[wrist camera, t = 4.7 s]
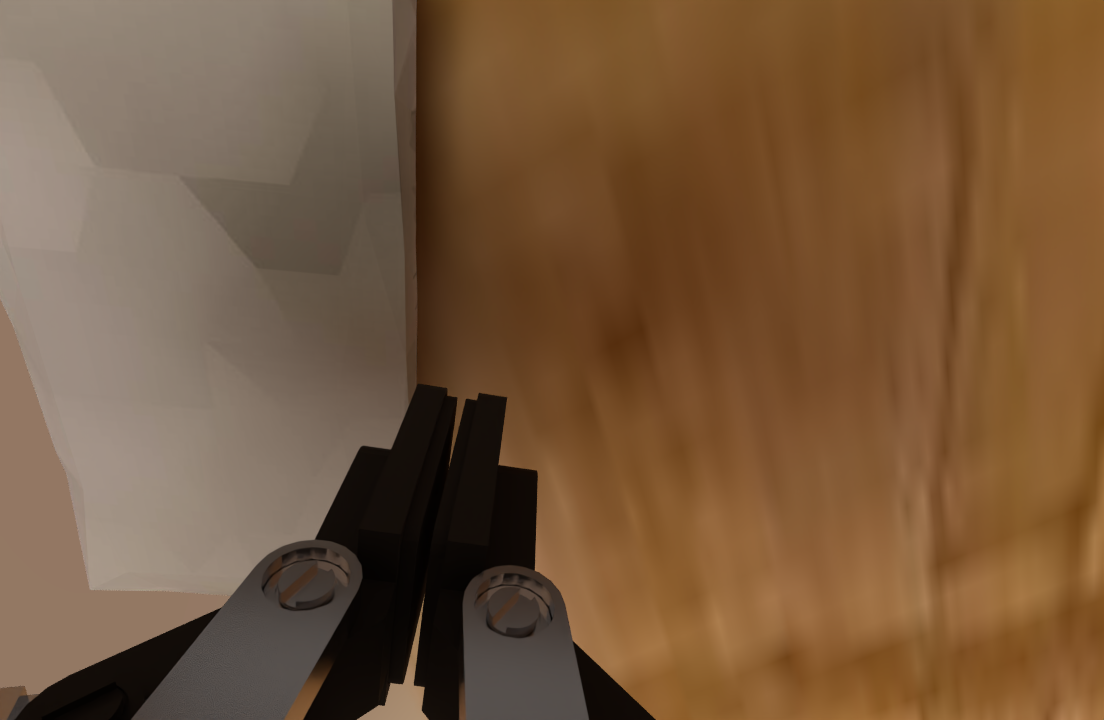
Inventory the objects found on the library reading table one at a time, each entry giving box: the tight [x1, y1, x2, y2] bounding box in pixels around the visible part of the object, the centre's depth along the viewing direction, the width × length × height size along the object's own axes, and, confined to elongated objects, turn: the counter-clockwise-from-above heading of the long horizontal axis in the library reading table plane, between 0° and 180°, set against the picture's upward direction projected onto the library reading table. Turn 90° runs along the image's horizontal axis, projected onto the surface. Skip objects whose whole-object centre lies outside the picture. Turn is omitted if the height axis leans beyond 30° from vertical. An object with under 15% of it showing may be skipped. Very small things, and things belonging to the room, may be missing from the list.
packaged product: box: [0, 0, 417, 596], centre depth 17 cm, size 18×5×10 cm
